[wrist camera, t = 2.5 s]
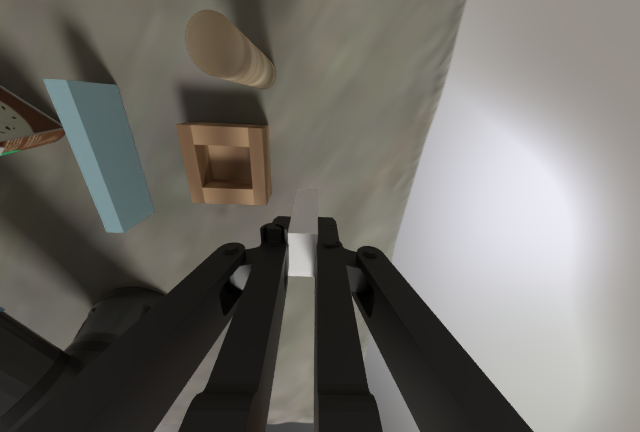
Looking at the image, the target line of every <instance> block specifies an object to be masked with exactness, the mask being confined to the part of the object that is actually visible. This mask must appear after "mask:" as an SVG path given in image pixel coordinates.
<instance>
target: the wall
mask: <svg viewBox="0 0 640 432" xmlns="http://www.w3.org/2000/svg"><path fill="white" fill-rule="evenodd" d="M43 80H44V83H45V85H46V88H47V90H48V92H49V95H50V97H51V100H52V102H53V104H54V107H55V109H56V112H57V114H58V116H59V119H60V121H61V124H62V126H63V128H64V131H65V133H66V136H67V138H68V140H69V143H70V145H71V148H72V150H73V152H74V155H75V157H76V160H77V162H78V164H79V167H80V169H81V172H82V174H83V177H84V179H85V181H86V184H87V186H88V189H89V191H90V193H91V196H92V198H93V201H94V203H95V205H96V208H97V210H98V213H99V215H100V217H101V220H102V222H103V225H104V227H105V229H106V232H116V233H124V232H126V231H127V230H129V229H130V228H131V227H133V226H134V225H136V224H137V223H139V222H140V221H142V220H143V219H145V218H146V217H148V216H149V215H151V214H152V213H153V212H154V208H153V205H152V201H151V198H150V195H149V191H148V188H147V185H146V181H145V178H144V174H143V171H142V168H141V164H140V161H139V158H138V154H137V151H136V147H135V144H134V141H133V137H132V134H131V131H130V127H129V124H128V120H127V117H126V114H125V110H124V107H123V104H122V100H121V97H120V93H119V90H118V87H117V85H113V84H102V83H91V82H80V81H70V80H54V79H43Z"/></svg>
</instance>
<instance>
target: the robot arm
mask: <svg viewBox="0 0 640 432" xmlns="http://www.w3.org/2000/svg"><path fill="white" fill-rule="evenodd" d="M260 232H261V245H260V246H259V247H256V248H252V249H246V250H245V246H244V245H243V244H240V243H227V244H224V245H222V246H221V247H219V248H218V249H217V250H216V251H214V252H213V253H212V254H211V255H210V256H209V257H208V258H207V259H206V260H204V261H203V262H202V263H201V264H200V265H199V266H198V267H197V268H196V269H194V270H193V271H192V272H191V273H190V274H189V275H188V276H187V277H186V278H184V279H183V280H182V281H181V282H180V283H179V284H178V285H177V286H176V287H174V288H173V289H172V290H171V291H170V292H169V293H168V294H167V295H166V296H163V295H160V294H158V293H156V292H153V291H150V290H146V289H141V288H120V289H116V290H113V291H111V292H109V293H107V294H106V295H105V296H103V297H102V298H101V299H100V300H99V301H98V302H97V303H96V304H95V305H94V306H93V307H92V309H91V310H90V312H89V314H88V317H87V319H86V320H85V321H84V323H83V325H82V326H81V328H80V330H79V331H78V333H77V335H76V337H75V338H74V340H73V342H72V343H71V344H70V345H69V346H68V348H67V349H66V350H65V351H62V350H61V349H59V348H58V347H56V346H55V345H53V344H52V343H50V342H49V341H47V340H46V339H44V338H43V337H41V336H40V335H38V334H37V333H35V332H34V331H32V330H31V329H29V328H28V327H26V326H25V325H23V324H21V323H20V322H18V321H17V320H15V319H14V318H12V317H11V316H9V315H8V314H6V313H5V312H3V311H4V310H5V309H4V308H2V307H0V432H154V431H155V429H156V428H157V426H158V425H159V423H160V422H161V420H162V419H163V417H164V416H165V414H166V413H167V412H168V410H169V409H170V407H171V406H172V404H173V403H174V401H175V400H176V398H177V397H178V395H179V394H180V393H181V391H182V390H183V388H184V387H185V385H186V384H187V382H188V381H189V379H190V378H191V376H192V375H193V374H194V372H195V371H196V369H197V368H198V366H199V365H200V363H201V362H202V360H203V359H204V358H205V356H206V355H207V353H208V352H209V350H210V349H211V347H212V346H213V344H214V343H215V341H216V340H217V339H218V337H219V336H220V334H221V333H222V331H223V330H224V328H225V327H226V325H227V324H228V322H229V321H230V320H231V318H232V317H233V318H232V320H231V323H230V326H229V328H228V331H227V333H226V336H225V339H224V341H223V344H222V347H221V349H220V352H219V354H218V357H217V360H216V362H215V365H214V367H213V370H212V373H211V375H210V378H209V381H208V383H207V385H206V388H205V389H204V391H203V392H201V393H199V394H197V395H196V396H195V397H194V399H193V400H192V402H191V404H190V406H189V408H188V410H187V412H186V414H185V417H184V419H183V422H182V424H181V426H180V429H179V431H178V432H265V430H266V424H267V417H268V411H269V404H270V398H271V391H272V384H273V378H274V371H275V364H276V358H277V351H278V345H279V338H280V331H281V325H282V318H283V311H284V305H285V298H286V291H287V285H288V276H313V277H315V292H314V294H315V337H314V432H383V431H382V426H381V421H380V417H379V411H378V407H377V403H376V400H375V398H374V396H373V395H372V394H371V393H370V392H369V388H368V384H367V378H366V373H365V367H364V362H363V356H362V351H361V345H360V340H359V334H358V329H357V323H356V318H355V312H354V307H353V301H352V296H353V298H354V300H355V302H356V304H357V306H358V308H359V310H360V312H361V314H362V316H363V318H364V320H365V322H366V324H367V326H368V328H369V330H370V332H371V334H372V336H373V338H374V340H375V342H376V344H377V346H378V348H379V350H380V352H381V354H382V356H383V358H384V360H385V362H386V364H387V366H388V368H389V370H390V372H391V374H392V376H393V378H394V380H395V382H396V384H397V386H398V388H399V390H400V392H401V394H402V396H403V398H404V400H405V402H406V404H407V406H408V408H409V410H410V412H411V414H412V416H413V418H414V420H415V422H416V424H417V426H418V428H419V430H420V432H533V431H532V429H531V428H530V427H529V426H528V425H527V424H526V422H525V421H524V420H523V419H522V418H521V417H520V415H519V414H518V413H517V412H516V410H515V409H514V408H513V407H512V406H511V404H510V403H509V402H508V401H507V400H506V399H505V397H504V396H503V395H502V394H501V393H500V391H499V390H498V389H497V388H496V387H495V385H494V384H493V383H492V382H491V381H490V380H489V378H488V377H487V376H486V375H485V374H484V372H482V370H481V369H480V368H479V366H478V365H477V364H476V363H475V362H474V360H473V359H472V358H471V357H470V356H469V355H468V353H467V352H466V351H465V350H464V349H463V347H462V346H461V345H460V344H459V343H458V342H457V340H456V339H455V338H454V337H453V336H452V335H451V333H450V332H449V331H448V330H447V328H446V327H445V326H444V325H443V324H442V322H441V321H440V320H439V319H438V318H437V317H436V315H435V314H434V313H433V312H432V311H431V309H430V308H429V307H428V306H427V305H426V303H425V302H424V301H423V300H422V299H421V298H420V296H419V295H418V294H417V293H416V292H415V290H414V289H413V288H412V287H411V286H410V284H409V283H408V282H407V281H406V280H405V278H404V277H403V276H402V275H401V274H400V273H399V271H398V270H397V269H396V268H395V267H394V265H393V264H392V263H391V262H390V261H389V259H388V258H387V257H386V256H385V255H384V253H383V252H382V251H380V250H379V249H377V248H375V247H371V246H363V247H360V248H359V249H358V250H357V252H354V251H350V250H347V249H345V248H344V247H343V246H342V243H341V242H340V241H339V236H338V230H337V224H336V221H335V220H334V219H333V218H329V217H318V210H317V189H298V188H297V192H296V197H295V202H294V206H293V211H292V216H291V217H286V216H278V217H276V218H275V219H274V220H273V222H272V223H269V224H265V225H263V226H262V227H261V228H260ZM351 294H352V295H351Z"/></svg>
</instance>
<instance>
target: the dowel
mask: <svg viewBox="0 0 640 432" xmlns="http://www.w3.org/2000/svg"><path fill="white" fill-rule="evenodd" d="M185 42H186V47H187V50H188V53H189V55H190V57H191V59H192V60H193V62H194V63H195V64H196V66H197V67H198V68H199V69H201V70H202V71H203V72H205V73H207V74H209V75H211V76H215V77H219V78H222V79H226V80H230V81H233V82H237V83H241V84H245V85H248V86H252V87H256V88H259V89H267V88H269V87H271V86H272V85H273V83H274V82H275V79H276V70H275V67H274V65H273V63H272V62H271V61H270V60H269V59H268V58H267V57H266V56H265V55H264V54H263V53H262V52H261V51H260V50H259V49H258V48H257V47H256V46H255V45H254V44H253V43H252V42H251V41H250V40H249V39H248V38H247V37H246V36H245V35H244V34H243V33H242V32H241V31H240V30H239V29H238V28H237V27H236V26H235V25H234V24H233V23H231V22H230V21H229V20H228V19H227V18H226V17H225V16H224V15H222V14H221V13H218V12H216V11H213V10H202V11H199V12H197V13H196V14H194V15H193V16H192V17H191V19H190V20H189V22H188V24H187V27H186V31H185Z"/></svg>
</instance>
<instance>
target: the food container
mask: <svg viewBox="0 0 640 432" xmlns="http://www.w3.org/2000/svg"><path fill="white" fill-rule="evenodd" d="M65 134H66V133H65V131H64V128H63V126H62V124H61V123H59V122H58V121H56V120H54V119H53V118H51V117H50V116H48V115H47V114H45V113H43V112H42V111H40V110H39V109H37V108H36V107H34V106H32V105H31V104H29V103H28V102H26V101H25V100H23V99H21V98H20V97H18V96H17V95H15V94H13V93H12V92H10V91H9V90H7V89H6V88H4V87H2V86H1V85H0V156H2V155H6V154H10V153H14V152H18V151H22V150H26V149H30V148H33V147H37V146H41V145H45V144H49V143H53V142H56V141H58V140H59V139H61V138H62V137H63V136H64V135H65Z"/></svg>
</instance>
